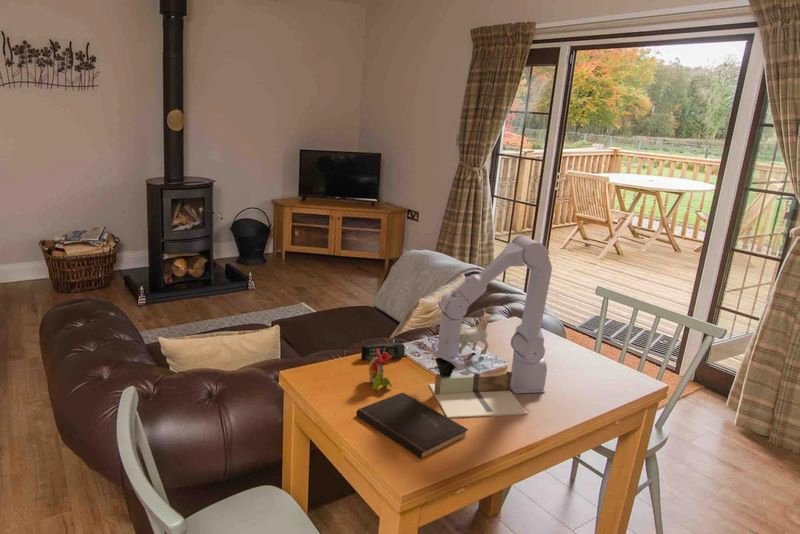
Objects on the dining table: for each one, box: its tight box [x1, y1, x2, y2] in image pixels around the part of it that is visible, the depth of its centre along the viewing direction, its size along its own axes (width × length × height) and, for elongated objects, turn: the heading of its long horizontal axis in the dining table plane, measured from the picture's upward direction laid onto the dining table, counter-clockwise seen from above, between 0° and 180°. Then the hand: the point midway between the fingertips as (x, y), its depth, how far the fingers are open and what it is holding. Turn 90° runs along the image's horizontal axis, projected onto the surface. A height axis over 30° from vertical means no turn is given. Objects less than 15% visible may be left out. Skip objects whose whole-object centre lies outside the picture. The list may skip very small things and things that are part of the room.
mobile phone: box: [361, 342, 406, 361], centre depth 180 cm, size 5×3×15 cm
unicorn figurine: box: [459, 307, 491, 355], centre depth 185 cm, size 7×20×13 cm, turn 138°
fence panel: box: [433, 373, 474, 394], centre depth 160 cm, size 11×2×5 cm, turn 106°
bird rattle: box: [368, 349, 393, 391], centre depth 161 cm, size 6×11×9 cm
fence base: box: [473, 371, 512, 392], centre depth 163 cm, size 11×2×5 cm, turn 102°
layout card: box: [428, 383, 529, 419], centre depth 159 cm, size 22×18×1 cm
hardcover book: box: [356, 392, 469, 459], centre depth 143 cm, size 16×23×2 cm
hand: (444, 383), depth 161 cm, fingers closed
